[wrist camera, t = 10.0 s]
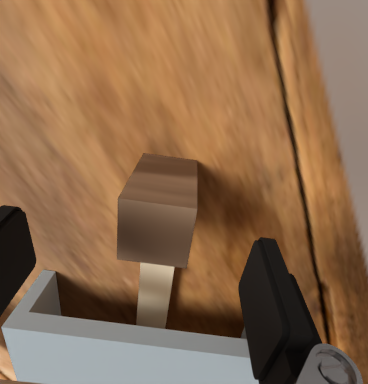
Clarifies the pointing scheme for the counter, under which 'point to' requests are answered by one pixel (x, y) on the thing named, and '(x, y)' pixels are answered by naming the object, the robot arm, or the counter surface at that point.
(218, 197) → the counter surface
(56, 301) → the bench
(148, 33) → the counter surface
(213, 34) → the counter surface
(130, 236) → the cube on stick
